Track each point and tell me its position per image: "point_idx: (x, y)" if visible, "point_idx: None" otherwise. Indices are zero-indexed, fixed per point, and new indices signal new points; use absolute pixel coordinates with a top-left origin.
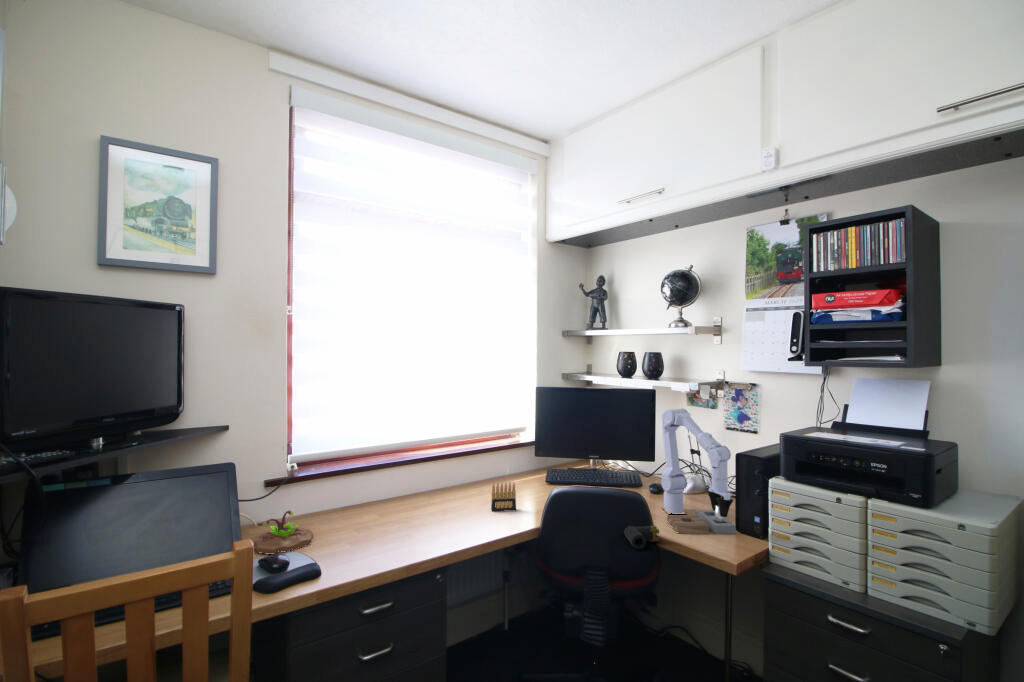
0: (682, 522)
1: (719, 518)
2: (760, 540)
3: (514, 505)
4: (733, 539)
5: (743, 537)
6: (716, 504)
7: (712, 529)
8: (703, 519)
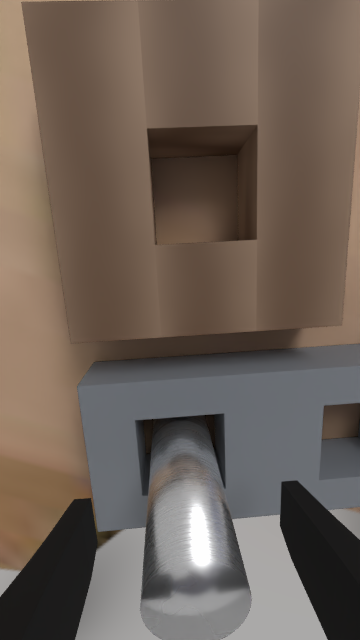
0: (125, 105)
1: (151, 470)
2: (16, 570)
3: None
4: (2, 443)
5: (50, 505)
6: (315, 577)
7: (122, 366)
8: (298, 359)
